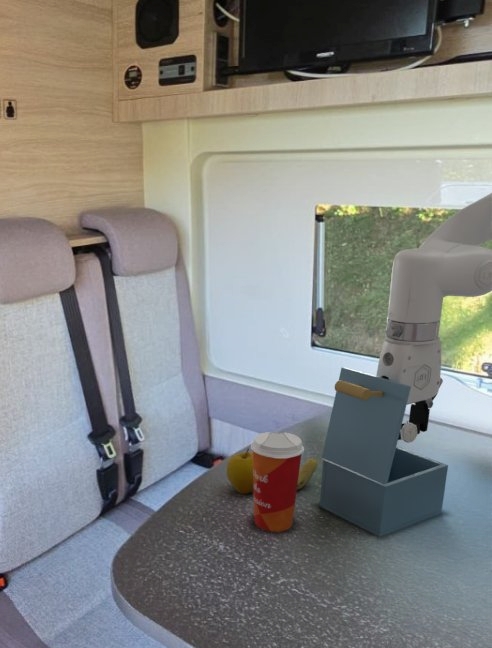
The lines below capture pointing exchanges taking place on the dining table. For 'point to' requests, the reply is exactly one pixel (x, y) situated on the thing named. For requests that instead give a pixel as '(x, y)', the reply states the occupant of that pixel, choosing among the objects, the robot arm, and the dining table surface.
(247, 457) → the apple
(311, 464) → the banana
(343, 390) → the lid
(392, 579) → the dining table surface
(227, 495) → the dining table surface
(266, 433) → the coffee cup
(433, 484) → the chest
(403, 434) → the watch
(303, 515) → the dining table surface
